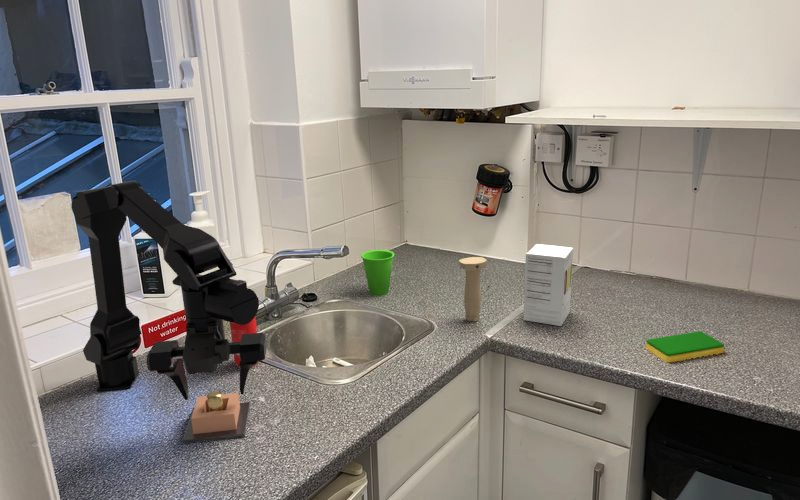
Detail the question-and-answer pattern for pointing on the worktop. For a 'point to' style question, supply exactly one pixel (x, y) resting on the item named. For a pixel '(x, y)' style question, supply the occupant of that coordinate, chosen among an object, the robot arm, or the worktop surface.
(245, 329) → the beverage can
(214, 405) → the black plate with peg
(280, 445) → the worktop surface
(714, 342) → the dish sponge
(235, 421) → the ring
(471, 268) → the handle
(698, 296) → the worktop surface
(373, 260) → the cup
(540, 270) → the supplement box
